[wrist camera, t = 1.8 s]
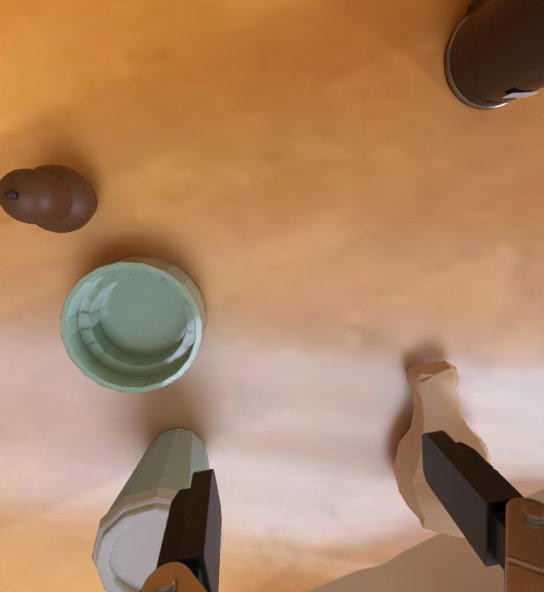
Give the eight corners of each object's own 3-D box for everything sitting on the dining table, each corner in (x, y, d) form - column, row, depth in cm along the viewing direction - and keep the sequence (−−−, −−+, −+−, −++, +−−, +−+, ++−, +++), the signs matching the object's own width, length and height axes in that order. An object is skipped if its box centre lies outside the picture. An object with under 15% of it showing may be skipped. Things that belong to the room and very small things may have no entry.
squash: (395, 505, 49) (414, 561, 40) (372, 360, 47) (388, 385, 38) (480, 497, 47) (520, 553, 38) (461, 347, 45) (498, 370, 36)
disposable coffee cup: (116, 437, 42) (54, 552, 28) (197, 393, 42) (177, 486, 28) (165, 502, 45) (132, 640, 30) (242, 461, 45) (245, 580, 30)
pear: (40, 166, 36) (-45, 145, 25) (104, 172, 36) (49, 153, 26) (44, 229, 37) (-36, 234, 26) (106, 233, 38) (53, 240, 27)
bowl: (82, 252, 38) (57, 258, 32) (207, 259, 39) (203, 266, 34) (86, 368, 40) (64, 391, 35) (204, 371, 42) (199, 394, 36)
